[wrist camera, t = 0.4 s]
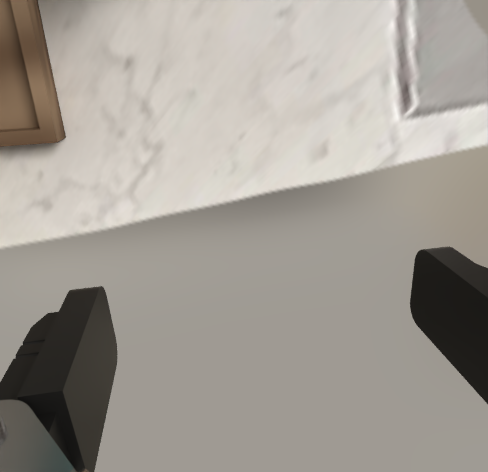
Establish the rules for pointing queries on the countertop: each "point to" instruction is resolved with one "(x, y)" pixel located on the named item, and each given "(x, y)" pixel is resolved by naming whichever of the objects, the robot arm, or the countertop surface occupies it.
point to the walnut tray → (26, 78)
